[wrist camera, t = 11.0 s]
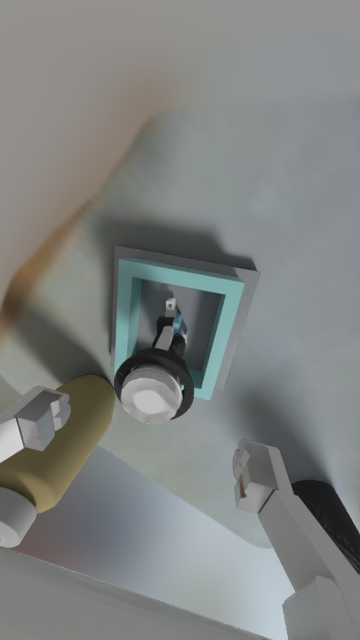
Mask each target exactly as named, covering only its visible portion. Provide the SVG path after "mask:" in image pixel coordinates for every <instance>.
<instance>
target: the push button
mask: <svg viewBox="0 0 360 640" xmlns="http://www.w3.org/2000/svg"><path fill="white" fill-rule="evenodd" d="M171 304H172V305H171ZM187 338H188V329H187V331H186V334H185V335H184V334H182V314H180V313H177V309H176V299H175V298H168V301H166V311H165V314H164V316H160V317H159V318H158V320H157V335H156V337H155V339H154V341H153V343H152V347H149V348H145V349H141V350H139V351H138V352H137V353H136V354H135V355H133V356H131V357H129V358H128V359H126V360H125V361H124V362H123V363H122V364H121V366H120V367H119V368H118V370H117V372H116V374H115V377H114V388H115V392H116V395H117V397H118V399H119V400H120V402H121V403H122V404H123V406H124V409H125V410H126V412H128V413H129V414H130V415H131V416H132V417H133V418H135V419H137V420H139V421H142V422H144V423H149V424H159V423H165V422H167V421H169V420H172V419H175V418H177V417H180V416H181V415H183V414H184V413H185V412H186V411H187V410H188V409H189V408H190V406H191V404H192V402H193V399H194V383H193V380H192V377H191V375H190V372H189V370H188V367H187V364H186V362H185V360H183V359H182V357H183V356H184V352H185V347H186V343H187ZM133 367H135V368H134V370H133V372H132V373H131V368H133ZM182 383H183V386H184V389H183V390H182V391H181V386H182Z"/></svg>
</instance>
